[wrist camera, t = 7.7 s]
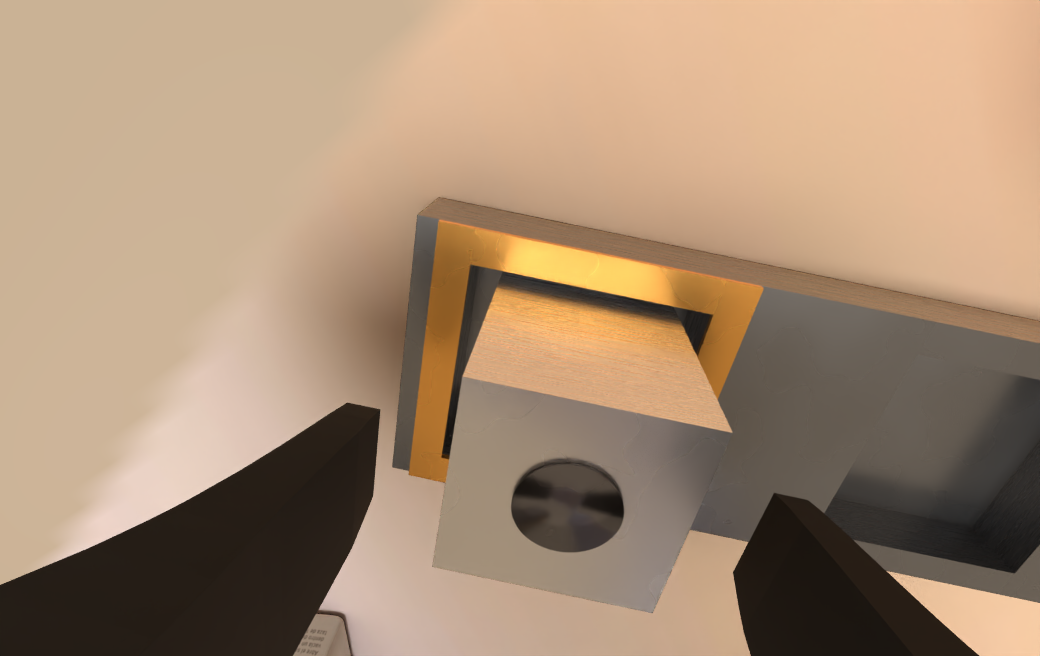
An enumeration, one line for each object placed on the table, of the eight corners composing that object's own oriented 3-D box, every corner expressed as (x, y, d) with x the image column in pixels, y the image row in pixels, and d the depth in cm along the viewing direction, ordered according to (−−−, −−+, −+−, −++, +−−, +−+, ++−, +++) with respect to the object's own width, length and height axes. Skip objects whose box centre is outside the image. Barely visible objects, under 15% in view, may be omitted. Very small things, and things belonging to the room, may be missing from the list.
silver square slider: (622, 418, 15) (653, 618, 9) (483, 390, 15) (431, 571, 9) (665, 288, 13) (734, 437, 7) (508, 256, 13) (461, 379, 7)
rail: (990, 544, 16) (1049, 609, 14) (412, 424, 16) (390, 471, 14) (1151, 344, 13) (1256, 390, 11) (439, 197, 13) (415, 216, 11)
